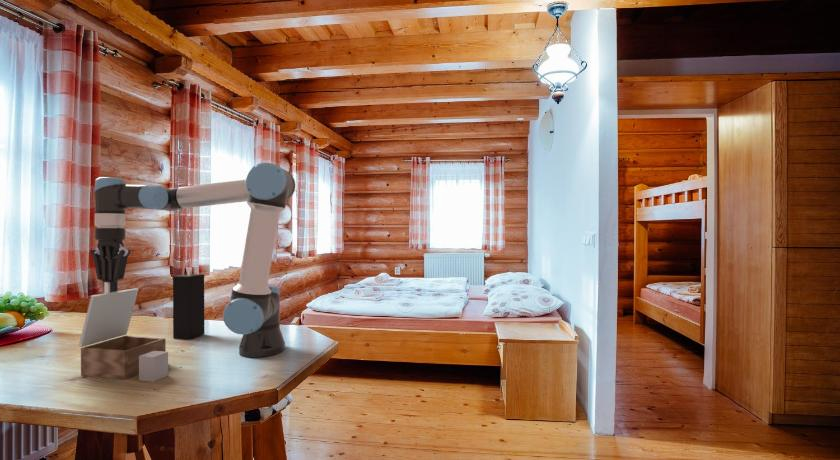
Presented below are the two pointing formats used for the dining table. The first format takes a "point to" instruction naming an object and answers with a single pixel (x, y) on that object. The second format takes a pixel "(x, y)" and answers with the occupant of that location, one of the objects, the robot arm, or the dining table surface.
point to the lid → (108, 316)
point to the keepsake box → (118, 356)
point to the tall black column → (188, 305)
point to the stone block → (153, 366)
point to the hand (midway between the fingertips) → (110, 302)
